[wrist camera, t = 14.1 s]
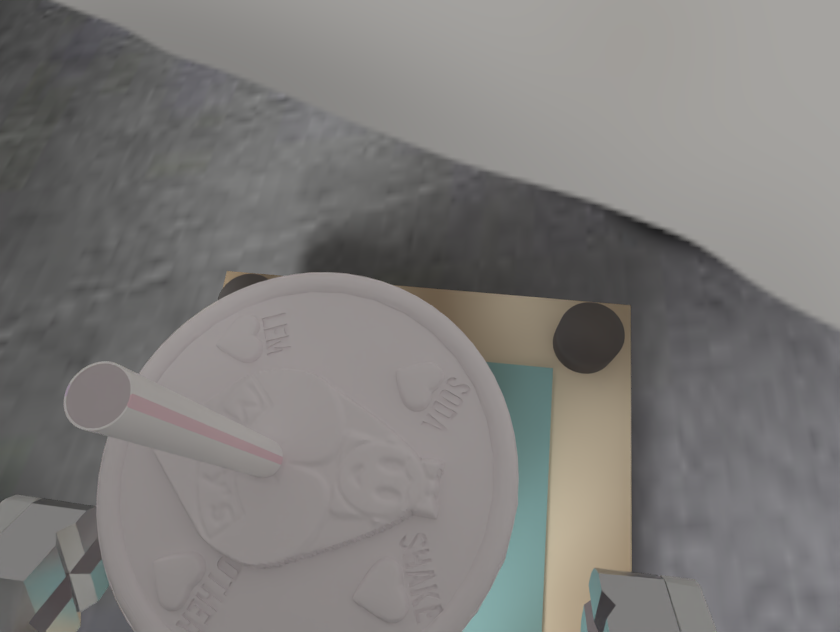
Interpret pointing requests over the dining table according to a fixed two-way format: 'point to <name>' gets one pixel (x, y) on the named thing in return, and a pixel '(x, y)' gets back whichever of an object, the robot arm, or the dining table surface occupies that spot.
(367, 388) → the smoothie
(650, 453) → the dining table surface
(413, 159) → the dining table surface
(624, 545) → the peg shelf
